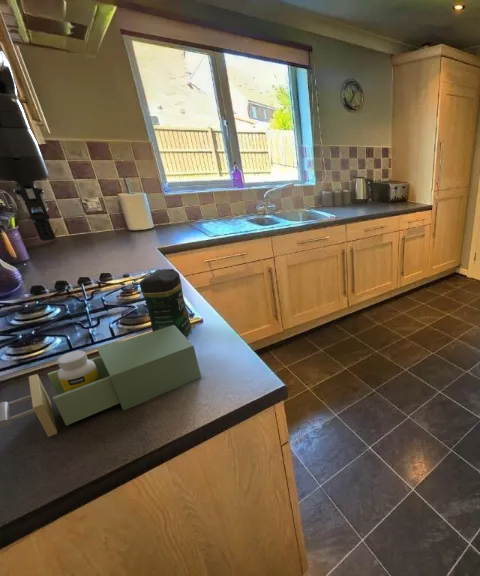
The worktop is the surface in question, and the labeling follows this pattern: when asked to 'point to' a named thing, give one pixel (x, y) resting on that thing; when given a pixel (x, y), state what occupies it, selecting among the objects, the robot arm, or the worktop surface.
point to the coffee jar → (165, 300)
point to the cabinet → (150, 365)
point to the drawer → (65, 400)
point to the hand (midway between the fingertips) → (46, 235)
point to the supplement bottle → (76, 370)
